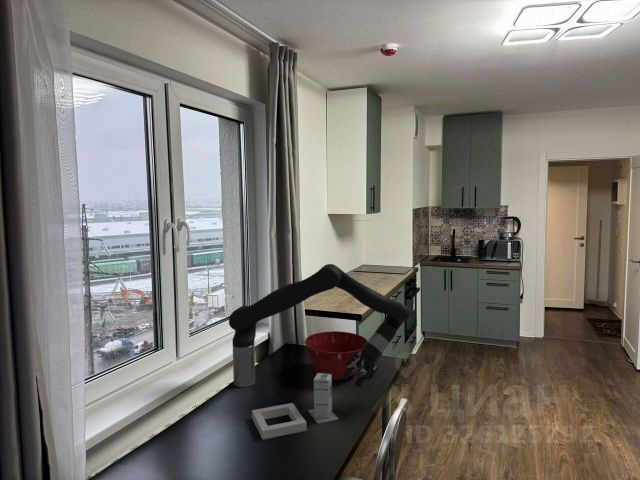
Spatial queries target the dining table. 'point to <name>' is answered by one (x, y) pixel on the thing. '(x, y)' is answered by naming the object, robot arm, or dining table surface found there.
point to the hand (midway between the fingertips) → (350, 382)
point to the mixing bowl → (333, 351)
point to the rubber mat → (323, 420)
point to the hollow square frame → (279, 429)
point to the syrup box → (323, 395)
